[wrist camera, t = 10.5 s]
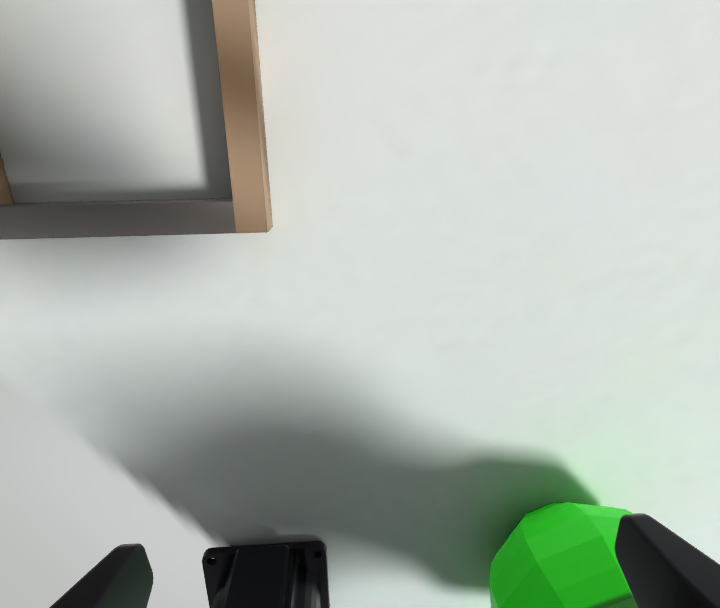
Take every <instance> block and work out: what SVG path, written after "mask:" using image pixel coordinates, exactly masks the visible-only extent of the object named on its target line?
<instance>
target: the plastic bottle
mask: <svg viewBox="0 0 720 608" xmlns="http://www.w3.org/2000/svg"><path fill="white" fill-rule="evenodd" d="M625 514H633V513H631V512H629V511H627V510H625V509H619V508H613V507H605V506H596V505H587V504H578V503H569V502H565V503H562V504H561V503H551V504H549V505H547V506H544V507H542V508H539V509H537V510H535V511H532V512H530V513H527V514H525V515H524V517H523V518H522V519H521V521H520V522H519V523H518V524H517V526H516V527H515V528H514V530H513V531H512V532H511V533H510V535H509V538H508V539H507V540H506V542H505V543H504V544H503V545H502V547H501V548H500V549H499V551H498V552H497V553H496V555H495V557H494V559H493V561H492V563H491V565H490V597H491V608H638V607H637V605H636V602H635V600H634V598H633V595H632V593H631V591H630V588H629V586H628V584H627V581H626V579H625V577H624V574H623V572H622V570H621V567H620V565H619V563H618V560H617V558H616V554H615V541H616V536H617V531H618V526H619V522H620V518H621V517H622V516H623V515H625Z"/></svg>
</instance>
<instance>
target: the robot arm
mask: <svg viewBox="0 0 720 608" xmlns="http://www.w3.org/2000/svg"><path fill="white" fill-rule="evenodd" d="M315 551H319V552H315ZM615 554H616V558H617V560H618V563H619V565H620V567H621V570H622V572H623V574H624V577H625V579H626V581H627V584H628V586H629V588H630V591H631V593H632V595H633V598H634V600H635V602H636V605H637V607H638V608H720V564H718V563H717V562H715V561H714V560H713V559H711V558H710V557H708V556H707V555H705V554H704V553H702V552H701V551H700V550H698V549H697V548H695V547H694V546H692V545H691V544H689V543H688V542H687V541H685V540H684V539H682V538H681V537H679V536H678V535H676V534H675V533H674V532H672V531H671V530H669V529H668V528H666V527H665V526H663V525H662V524H661V523H659V522H658V521H656V520H655V519H653V518H652V517H650V516H649V515H646V514H642V513H638V514H625V515H623V516H622V517H621V518H620V522H619V526H618V531H617V536H616V541H615ZM212 558H214V559H212ZM202 564H203V570H204V577H205V583H206V589H207V595H208V600H209V606H210V608H330V604H329V585H328V567H327V548H326V545H325V544H324V543H323V542H321V541H309V542H293V543H278V544H262V545H247V546H231V547H216V548H210V549H208V550H206V552H205V553H204V556H203V559H202ZM152 585H153V572H152V569H151V566H150V563H149V560H148V558H147V555H146V552H145V549H144V547H143V546H142V545H141V544H123V545H120V546H118V547H116V548H115V549H113V550H112V551H111V552H110V553H109V554H108V555H107V556H106V557H105V558H104V559H102V560H101V561H100V562H99V563H98V564H97V565H96V566H95V567H94V568H93V569H91V571H89V572H88V573H87V574H86V575H85V576H84V577H83V578H82V579H81V580H79V581H78V582H77V583H76V584H75V585H74V586H73V587H72V588H71V589H70V590H69V591H67V592H66V593H65V594H64V595H63V596H62V597H61V598H60V599H59V600H57V601H56V602H55V603H54V604H53V605H52V606H51V607H50V608H146V607H147V603H148V600H149V596H150V593H151V589H152Z"/></svg>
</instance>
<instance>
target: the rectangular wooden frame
mask: <svg viewBox="0 0 720 608" xmlns="http://www.w3.org/2000/svg"><path fill="white" fill-rule="evenodd" d="M212 7H213V16H214V26H215V35H216V45H217V54H218V64H219V73H220V83H221V92H222V102H223V111H224V121H225V130H226V140H227V149H228V159H229V168H230V178H231V187H232V197H233V199H189V200H146V201H103V202H59V203H16V204H13V201H12V197H11V193H10V189H9V185H8V181H7V177H6V173H5V169H4V166H3V162H2V158H1V154H0V239H37V238H74V237H111V236H147V235H184V234H221V233H258V232H268V231H269V230H270V229H271V228H272V227H273V226H272V214H271V201H270V188H269V176H268V163H267V151H266V138H265V125H264V113H263V100H262V88H261V75H260V62H259V50H258V37H257V25H256V12H255V0H212Z"/></svg>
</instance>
